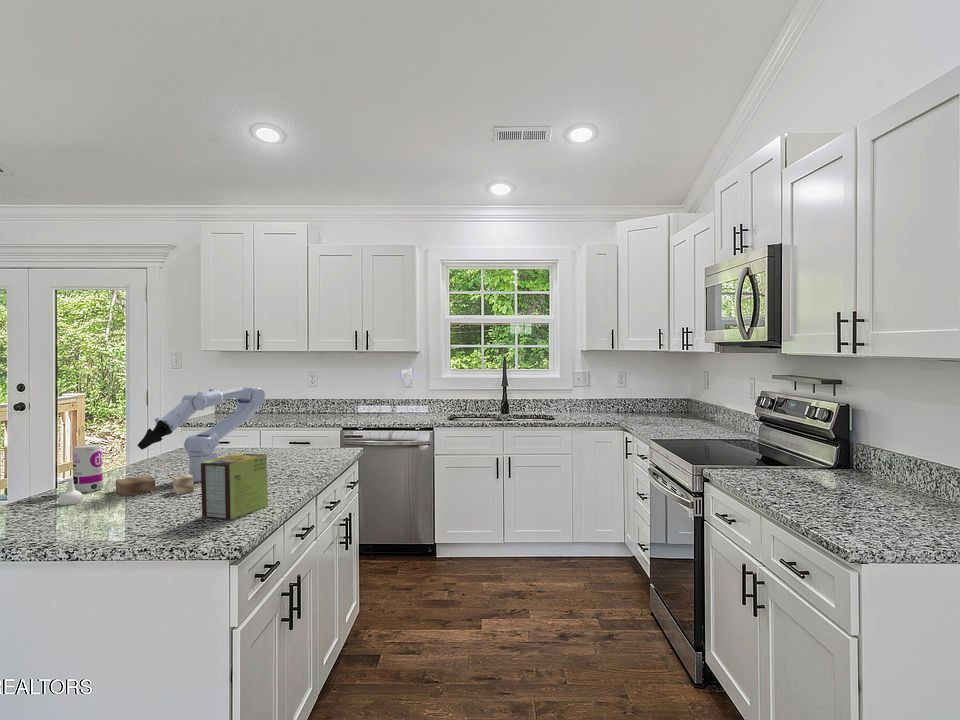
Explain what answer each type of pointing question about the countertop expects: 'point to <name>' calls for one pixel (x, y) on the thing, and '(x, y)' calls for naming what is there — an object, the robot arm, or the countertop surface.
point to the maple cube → (183, 484)
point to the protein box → (234, 485)
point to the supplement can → (87, 468)
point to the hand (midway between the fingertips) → (143, 444)
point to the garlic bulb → (70, 495)
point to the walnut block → (135, 485)
